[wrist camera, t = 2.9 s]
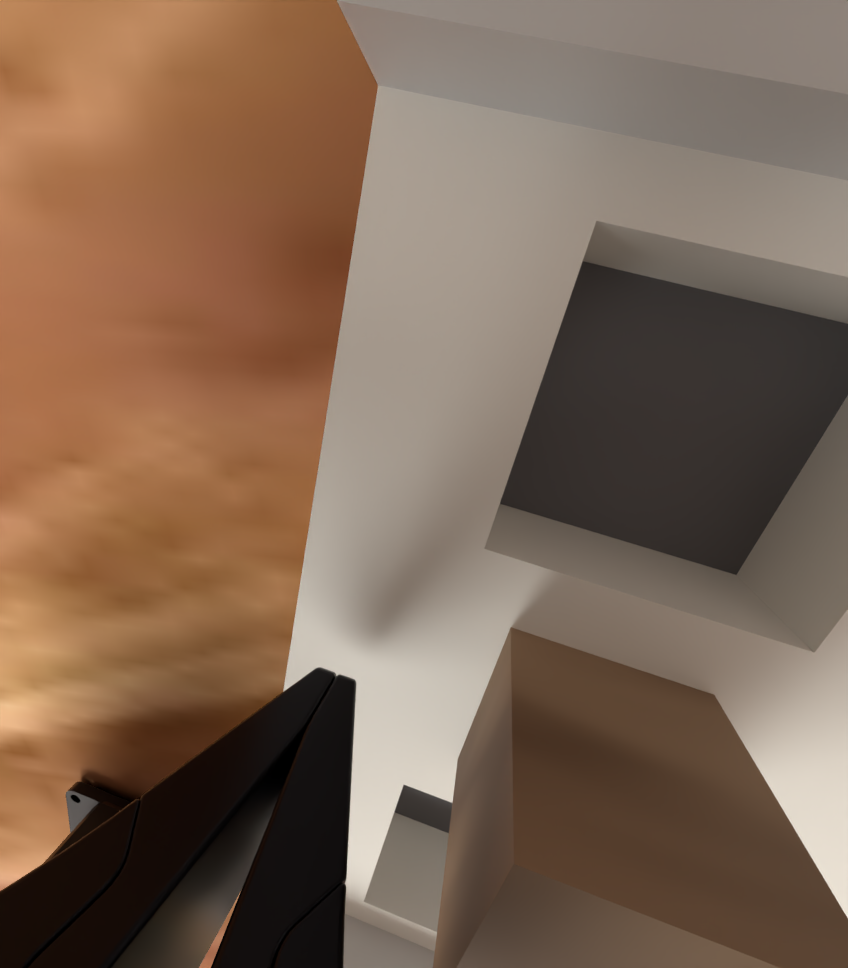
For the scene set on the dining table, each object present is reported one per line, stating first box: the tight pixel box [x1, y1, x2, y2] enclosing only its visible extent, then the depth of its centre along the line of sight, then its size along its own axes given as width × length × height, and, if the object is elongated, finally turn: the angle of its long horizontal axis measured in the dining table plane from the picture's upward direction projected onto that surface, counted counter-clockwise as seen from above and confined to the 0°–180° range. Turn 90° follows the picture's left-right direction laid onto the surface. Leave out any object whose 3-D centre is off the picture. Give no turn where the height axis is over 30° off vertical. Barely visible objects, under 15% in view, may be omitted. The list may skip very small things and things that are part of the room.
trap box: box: [283, 0, 848, 968], centre depth 9 cm, size 22×20×4 cm
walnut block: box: [433, 627, 848, 968], centre depth 7 cm, size 4×4×4 cm
